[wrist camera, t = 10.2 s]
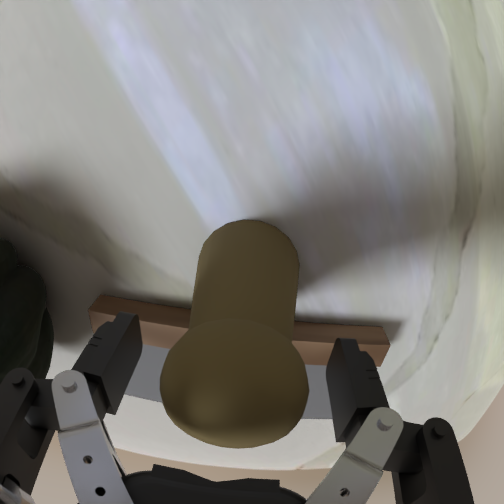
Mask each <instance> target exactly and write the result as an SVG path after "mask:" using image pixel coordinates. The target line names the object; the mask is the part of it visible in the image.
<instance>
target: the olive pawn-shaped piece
mask: <svg viewBox="0 0 504 504" xmlns="http://www.w3.org/2000/svg"><path fill="white" fill-rule="evenodd" d="M298 276H299V260H298V256H297V251H296V249H295V247H294V246H293V244H292V243H291V241H290V239H289V238H288V237H287V236H286V235H285V234H284V233H282V232H281V231H280V230H279V229H277V228H276V227H274V226H272V225H269V224H267V223H264V222H262V221H254V220H240V221H236V222H231V223H227V224H225V225H224V226H222V227H220V228H219V229H217V230H215V231H214V232H213V233H212V234H211V235H210V236H209V238H208V239H207V240H206V241H205V242H204V244H203V247H202V250H201V253H200V255H199V260H198V266H197V273H196V280H195V286H194V293H193V300H192V307H191V315H190V322H189V330H188V331H187V332H186V333H185V334H184V335H183V336H182V337H181V338H180V339H179V340H178V341H177V342H176V344H175V345H174V346H173V347H172V348H171V349H170V350H169V352H168V354H167V357H166V359H165V362H164V365H163V368H162V372H161V375H160V389H159V390H160V394H161V398H162V403H163V405H164V408H165V410H166V413H167V415H168V416H169V417H170V419H171V420H172V421H173V423H174V424H175V425H176V426H177V427H179V428H180V429H181V430H183V431H184V432H185V433H187V434H188V435H190V436H192V437H194V438H196V439H198V440H201V441H203V442H205V443H208V444H212V445H216V446H220V447H227V448H253V447H257V446H261V445H265V444H269V443H272V442H275V441H277V440H279V439H281V438H282V437H284V436H286V435H287V434H288V433H289V432H290V431H291V430H292V429H293V428H294V427H295V426H296V425H297V423H298V422H299V421H300V419H301V418H302V416H303V414H304V411H305V408H306V404H307V401H308V396H309V391H310V390H309V383H308V377H307V372H306V367H305V363H304V361H303V359H302V357H301V355H300V354H299V352H298V351H297V349H296V348H295V347H294V345H293V344H292V337H293V328H294V318H295V308H296V298H297V287H298Z"/></svg>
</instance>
